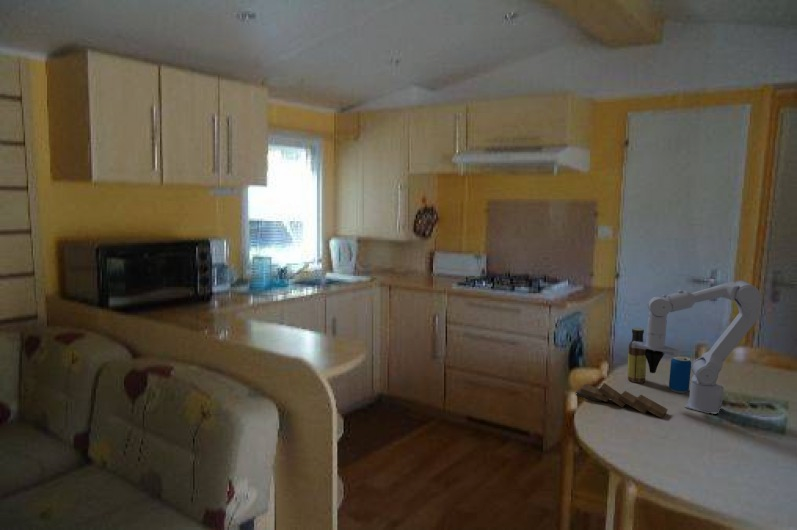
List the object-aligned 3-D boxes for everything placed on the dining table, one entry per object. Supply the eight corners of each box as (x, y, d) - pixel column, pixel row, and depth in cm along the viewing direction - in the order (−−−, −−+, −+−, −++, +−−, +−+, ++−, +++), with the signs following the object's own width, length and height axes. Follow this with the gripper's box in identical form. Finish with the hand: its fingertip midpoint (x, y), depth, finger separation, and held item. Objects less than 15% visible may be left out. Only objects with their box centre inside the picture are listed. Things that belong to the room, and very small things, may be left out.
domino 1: (606, 394, 193) (581, 388, 199) (601, 399, 190) (575, 392, 195) (606, 399, 193) (581, 392, 199) (600, 403, 190) (575, 396, 196)
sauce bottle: (646, 379, 212) (650, 328, 209) (643, 384, 207) (647, 332, 204) (627, 376, 215) (631, 325, 212) (624, 381, 210) (628, 329, 207)
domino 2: (611, 392, 192) (584, 383, 196) (608, 397, 187) (581, 388, 192) (610, 396, 192) (583, 387, 196) (607, 401, 188) (580, 392, 192)
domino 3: (628, 399, 189) (604, 382, 192) (625, 404, 185) (600, 387, 188) (625, 402, 189) (601, 386, 193) (622, 407, 185) (598, 390, 189)
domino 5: (668, 409, 180) (641, 394, 185) (663, 414, 177) (635, 398, 182) (666, 413, 181) (639, 398, 186) (661, 418, 177) (634, 402, 182)
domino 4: (651, 405, 184) (625, 390, 189) (646, 409, 180) (619, 395, 185) (649, 409, 184) (623, 394, 189) (644, 413, 181) (618, 399, 186)
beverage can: (691, 394, 198) (694, 361, 196) (671, 392, 199) (674, 360, 197) (685, 387, 204) (688, 356, 202) (666, 386, 205) (669, 354, 203)
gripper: (683, 334, 185) (679, 374, 187) (637, 326, 195) (634, 364, 197) (677, 339, 180) (673, 379, 182) (630, 330, 189) (627, 369, 191)
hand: (652, 372), depth 189 cm, fingers closed
